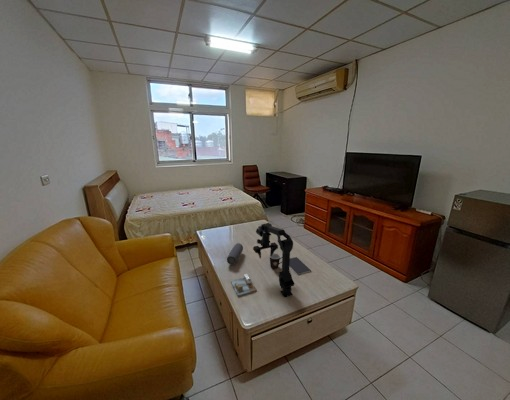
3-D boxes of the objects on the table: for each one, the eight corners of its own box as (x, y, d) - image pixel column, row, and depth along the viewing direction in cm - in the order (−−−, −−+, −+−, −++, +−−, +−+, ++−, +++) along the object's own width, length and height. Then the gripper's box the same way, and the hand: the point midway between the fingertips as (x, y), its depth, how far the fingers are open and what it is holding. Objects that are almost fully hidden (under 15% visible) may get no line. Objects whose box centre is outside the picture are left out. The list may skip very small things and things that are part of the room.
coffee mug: (267, 268, 176) (267, 257, 173) (271, 262, 184) (271, 252, 181) (281, 271, 172) (281, 260, 169) (284, 266, 179) (284, 255, 176)
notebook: (310, 271, 172) (296, 258, 191) (311, 270, 172) (296, 256, 191) (297, 275, 168) (284, 261, 187) (297, 273, 167) (284, 259, 186)
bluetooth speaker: (237, 266, 178) (236, 256, 175) (226, 265, 180) (225, 255, 177) (243, 252, 199) (243, 243, 197) (234, 251, 201) (233, 242, 198)
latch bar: (252, 284, 155) (252, 280, 154) (248, 285, 154) (247, 281, 153) (247, 276, 164) (247, 272, 163) (243, 277, 163) (243, 273, 162)
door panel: (256, 291, 150) (256, 286, 149) (237, 296, 145) (237, 292, 144) (248, 277, 164) (248, 273, 163) (230, 282, 159) (230, 278, 158)
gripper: (272, 232, 173) (271, 250, 178) (250, 236, 167) (250, 254, 171) (278, 238, 163) (278, 256, 168) (255, 243, 157) (255, 261, 161)
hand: (265, 257), depth 167 cm, fingers open, 9 cm apart
